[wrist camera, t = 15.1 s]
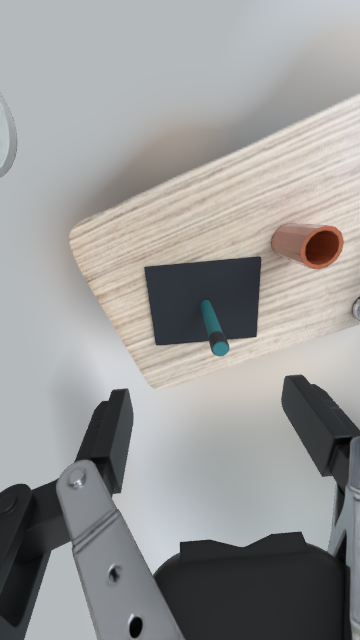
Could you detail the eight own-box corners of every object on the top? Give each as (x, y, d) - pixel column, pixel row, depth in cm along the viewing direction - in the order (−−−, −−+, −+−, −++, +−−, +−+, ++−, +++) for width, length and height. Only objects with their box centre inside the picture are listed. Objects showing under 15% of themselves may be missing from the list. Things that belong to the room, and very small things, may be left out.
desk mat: (156, 343, 42) (156, 345, 41) (144, 266, 36) (144, 267, 35) (255, 335, 41) (256, 337, 41) (260, 256, 36) (261, 257, 35)
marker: (199, 310, 38) (211, 357, 26) (199, 299, 38) (211, 342, 25) (211, 309, 38) (229, 356, 26) (211, 298, 38) (229, 340, 25)
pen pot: (270, 258, 36) (298, 271, 27) (272, 224, 34) (304, 227, 25) (301, 255, 36) (338, 267, 27) (305, 221, 34) (347, 223, 25)
